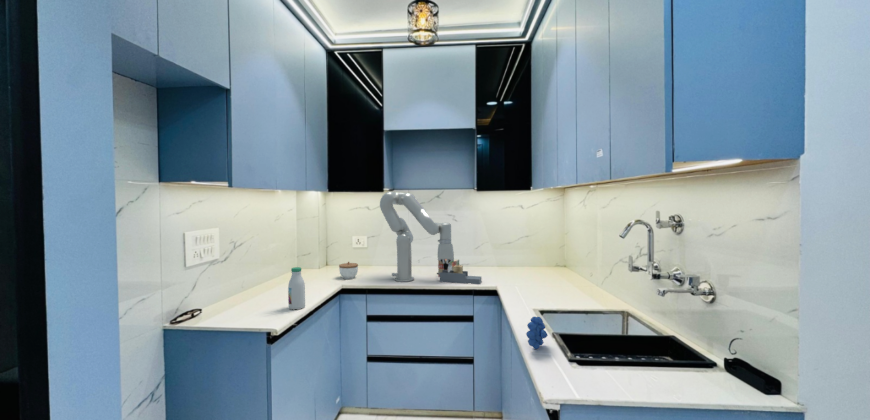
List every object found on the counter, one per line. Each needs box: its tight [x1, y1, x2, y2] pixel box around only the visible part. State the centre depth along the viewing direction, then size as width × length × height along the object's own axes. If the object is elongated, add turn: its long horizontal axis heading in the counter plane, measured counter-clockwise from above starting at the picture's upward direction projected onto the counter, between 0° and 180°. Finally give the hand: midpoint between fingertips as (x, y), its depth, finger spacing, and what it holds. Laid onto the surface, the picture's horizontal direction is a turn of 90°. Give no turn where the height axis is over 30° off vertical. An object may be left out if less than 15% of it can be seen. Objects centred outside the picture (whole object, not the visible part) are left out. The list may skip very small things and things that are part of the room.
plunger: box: [436, 266, 452, 275], centre depth 233 cm, size 10×6×6 cm, turn 75°
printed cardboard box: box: [437, 256, 460, 278], centre depth 252 cm, size 21×6×12 cm, turn 151°
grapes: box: [525, 316, 548, 350], centre depth 126 cm, size 12×7×12 cm, turn 137°
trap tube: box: [439, 270, 482, 285], centre depth 230 cm, size 26×9×6 cm, turn 75°
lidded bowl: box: [338, 261, 359, 280], centre depth 241 cm, size 13×13×11 cm
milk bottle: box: [287, 266, 306, 310], centre depth 175 cm, size 8×8×20 cm
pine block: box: [454, 264, 464, 274], centre depth 230 cm, size 5×5×7 cm
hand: (445, 269), depth 232 cm, fingers closed
